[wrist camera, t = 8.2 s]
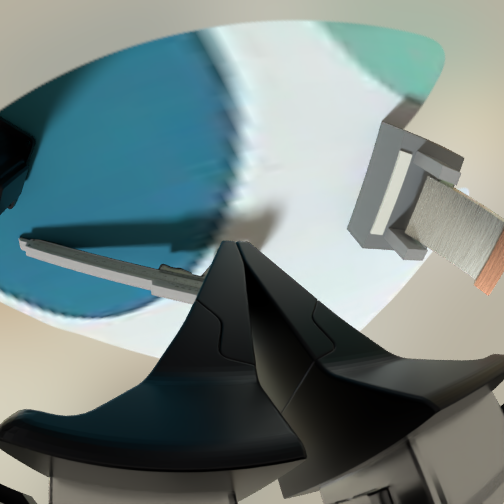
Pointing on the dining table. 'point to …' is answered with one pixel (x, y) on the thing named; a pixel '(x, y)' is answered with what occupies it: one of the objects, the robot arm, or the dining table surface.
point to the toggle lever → (460, 232)
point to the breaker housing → (398, 189)
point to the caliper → (119, 270)
